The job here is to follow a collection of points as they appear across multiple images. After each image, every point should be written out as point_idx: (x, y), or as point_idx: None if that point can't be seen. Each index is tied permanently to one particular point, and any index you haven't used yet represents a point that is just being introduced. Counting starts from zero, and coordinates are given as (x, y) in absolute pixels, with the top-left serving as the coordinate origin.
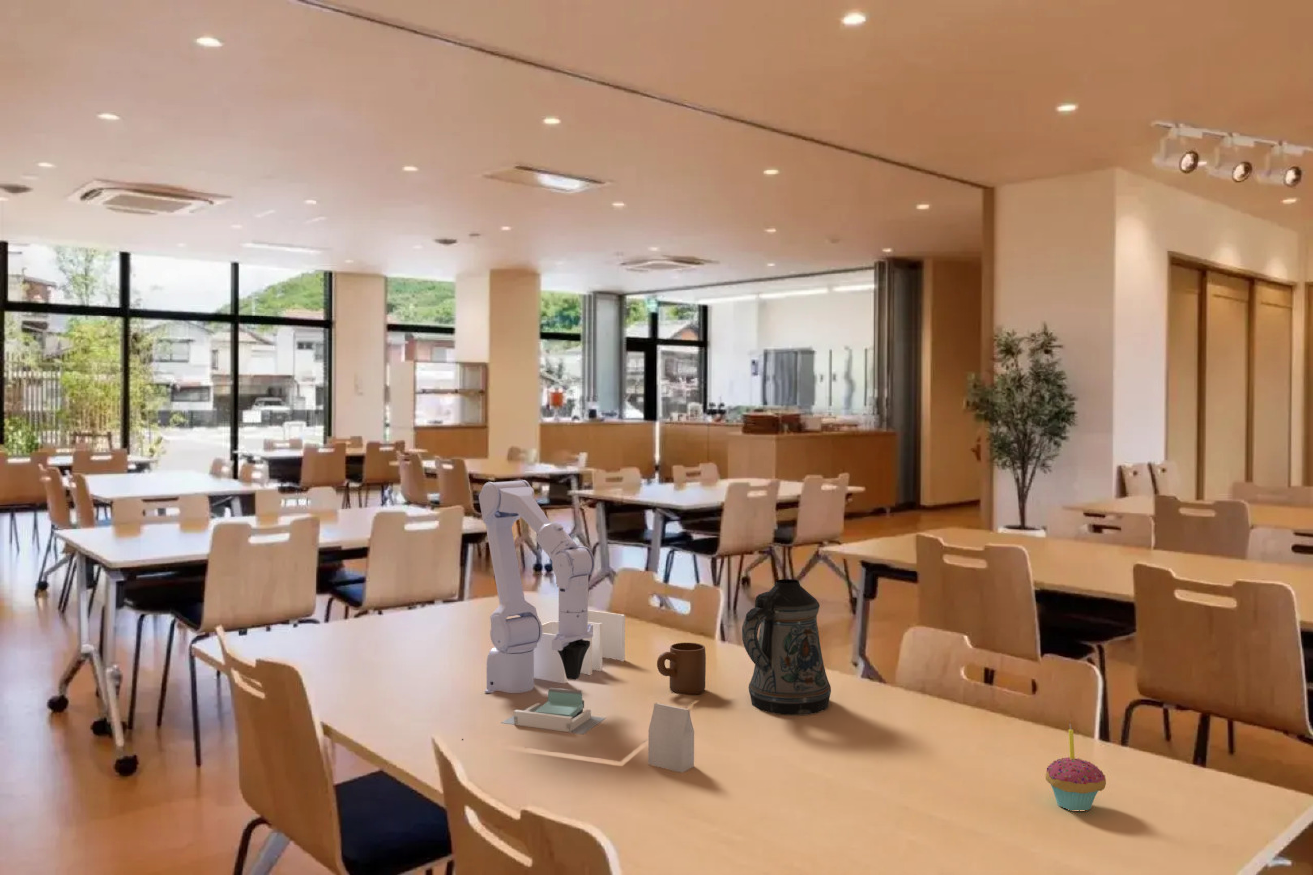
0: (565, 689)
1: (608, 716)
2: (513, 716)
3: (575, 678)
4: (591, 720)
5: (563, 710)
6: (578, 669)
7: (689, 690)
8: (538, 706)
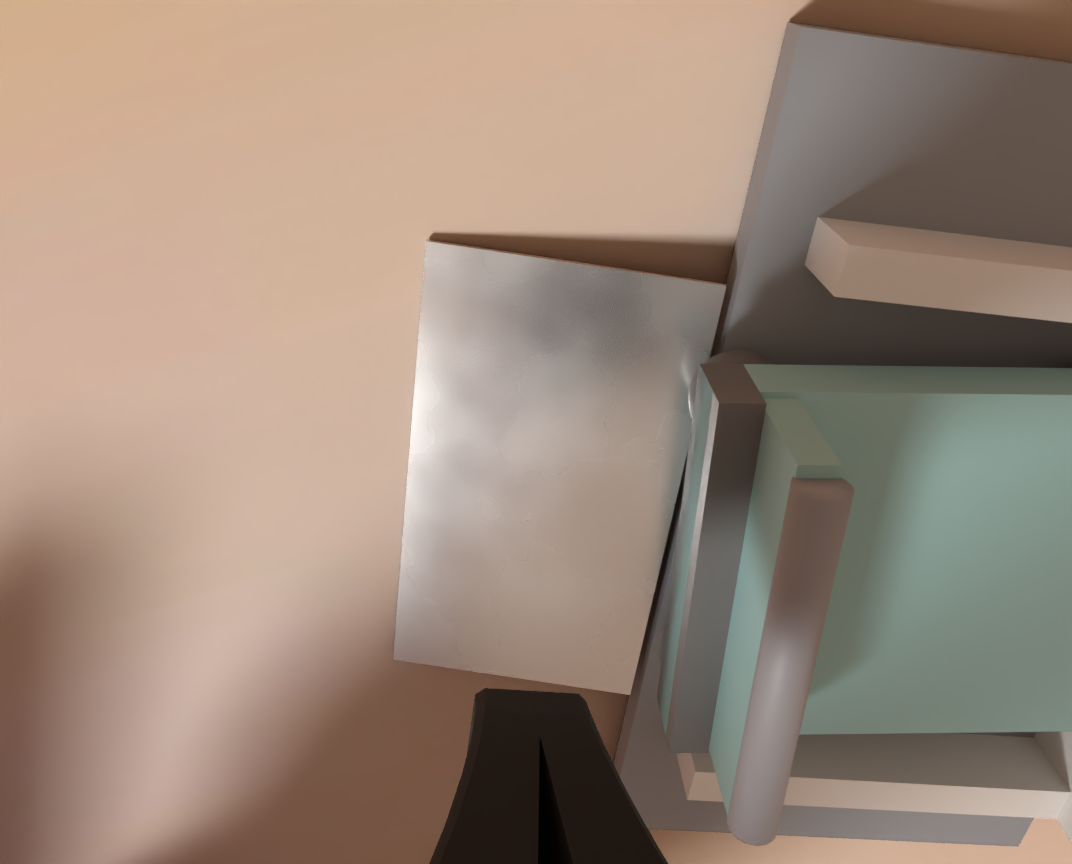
0: (799, 686)
1: (574, 54)
2: (856, 829)
3: (588, 714)
4: (920, 176)
5: (1052, 506)
6: (586, 800)
7: None
8: None
